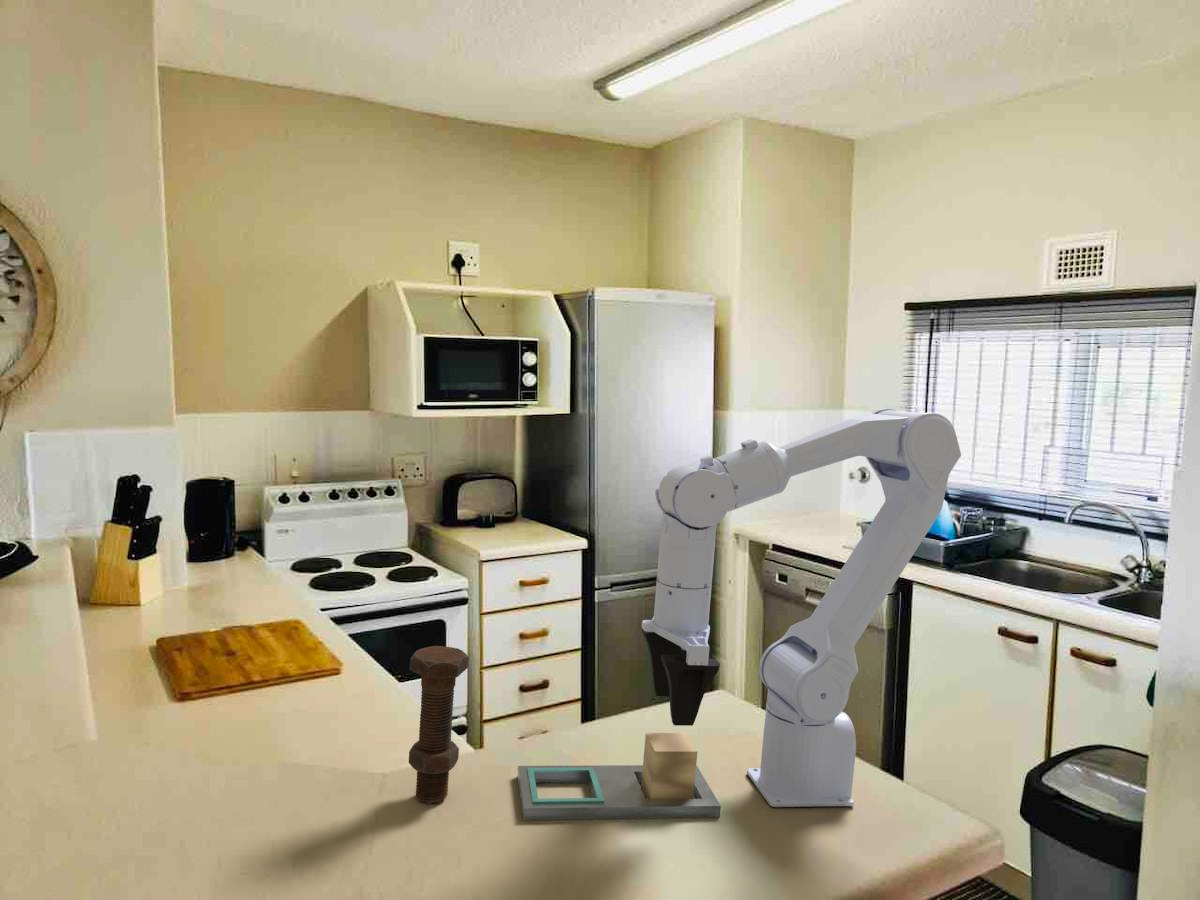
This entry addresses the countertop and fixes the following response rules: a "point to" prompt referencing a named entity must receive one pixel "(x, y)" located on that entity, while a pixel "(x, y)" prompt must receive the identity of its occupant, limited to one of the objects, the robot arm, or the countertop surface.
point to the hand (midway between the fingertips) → (673, 709)
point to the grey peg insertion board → (608, 795)
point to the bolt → (436, 719)
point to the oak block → (669, 766)
